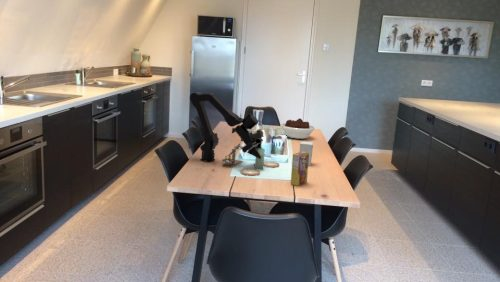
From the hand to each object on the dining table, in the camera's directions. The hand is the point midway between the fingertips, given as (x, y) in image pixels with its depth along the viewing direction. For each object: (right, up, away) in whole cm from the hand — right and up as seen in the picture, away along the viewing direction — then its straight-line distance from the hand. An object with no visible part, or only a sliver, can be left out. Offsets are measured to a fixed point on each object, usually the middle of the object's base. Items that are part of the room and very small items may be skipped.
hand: (262, 157), depth 224 cm
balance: (-16, -4, +8) cm, 19 cm away
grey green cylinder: (-2, -6, +2) cm, 7 cm away
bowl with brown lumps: (+29, +11, +96) cm, 101 cm away
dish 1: (-7, -8, -8) cm, 13 cm away
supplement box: (+25, -5, +19) cm, 32 cm away
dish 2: (+5, -5, +11) cm, 13 cm away
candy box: (+17, -12, -20) cm, 29 cm away
